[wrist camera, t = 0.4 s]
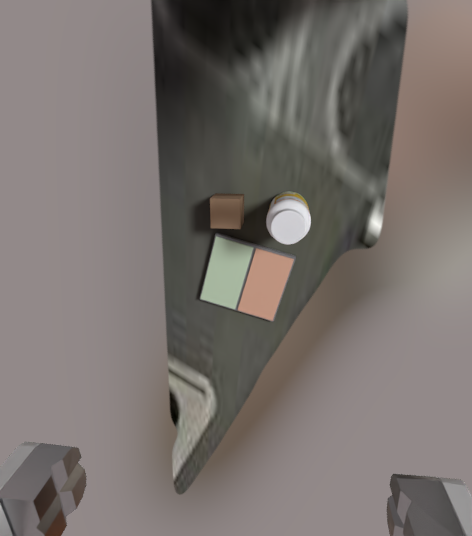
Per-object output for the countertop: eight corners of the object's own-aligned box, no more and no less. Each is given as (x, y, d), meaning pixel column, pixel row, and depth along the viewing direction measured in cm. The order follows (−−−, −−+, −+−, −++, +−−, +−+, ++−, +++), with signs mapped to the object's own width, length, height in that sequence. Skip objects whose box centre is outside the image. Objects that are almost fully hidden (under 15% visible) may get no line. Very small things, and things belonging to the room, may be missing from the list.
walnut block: (215, 193, 51) (209, 198, 47) (244, 194, 50) (240, 198, 46) (216, 221, 52) (210, 228, 48) (243, 222, 51) (240, 229, 48)
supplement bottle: (290, 237, 51) (290, 259, 42) (261, 213, 50) (254, 231, 42) (316, 207, 49) (322, 225, 40) (286, 182, 49) (285, 194, 40)
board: (216, 232, 52) (215, 234, 51) (295, 255, 52) (295, 258, 51) (200, 297, 57) (198, 300, 56) (273, 319, 56) (273, 322, 55)
